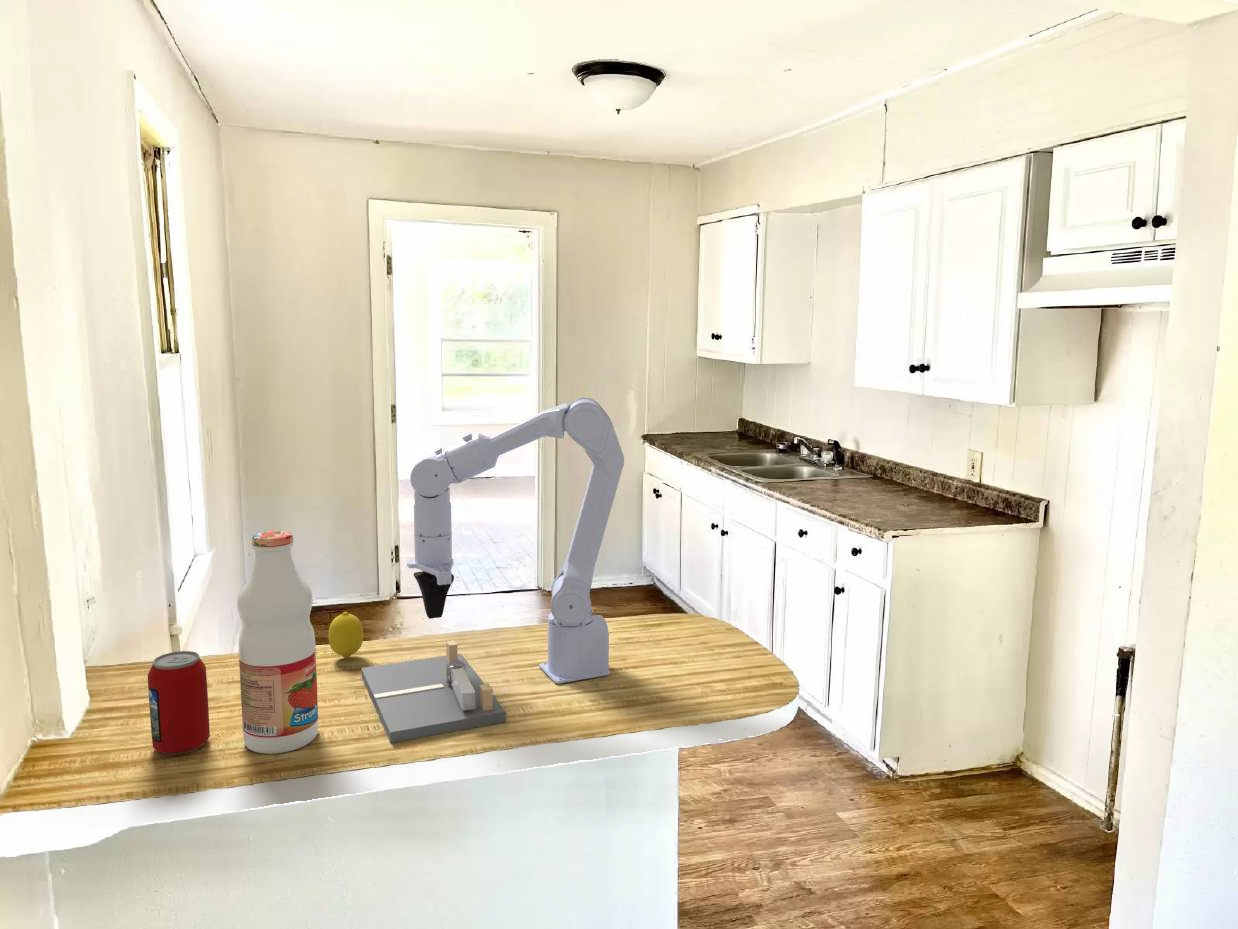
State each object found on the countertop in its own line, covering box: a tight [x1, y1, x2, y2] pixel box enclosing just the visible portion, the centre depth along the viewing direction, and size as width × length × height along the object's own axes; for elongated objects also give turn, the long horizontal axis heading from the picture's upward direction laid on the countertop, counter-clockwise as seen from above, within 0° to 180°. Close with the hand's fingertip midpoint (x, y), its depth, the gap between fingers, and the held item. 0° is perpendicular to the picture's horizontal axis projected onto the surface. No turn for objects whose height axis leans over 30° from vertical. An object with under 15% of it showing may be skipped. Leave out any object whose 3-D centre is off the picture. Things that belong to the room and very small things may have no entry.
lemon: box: [327, 611, 364, 659], centre depth 143 cm, size 6×6×8 cm
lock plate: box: [360, 640, 507, 744], centre depth 128 cm, size 16×24×4 cm, turn 25°
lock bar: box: [446, 662, 475, 711], centre depth 126 cm, size 12×3×2 cm, turn 21°
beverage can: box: [147, 650, 211, 756], centre depth 112 cm, size 7×7×12 cm
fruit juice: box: [236, 530, 319, 755], centre depth 113 cm, size 9×9×28 cm
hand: (434, 616), depth 136 cm, fingers closed
